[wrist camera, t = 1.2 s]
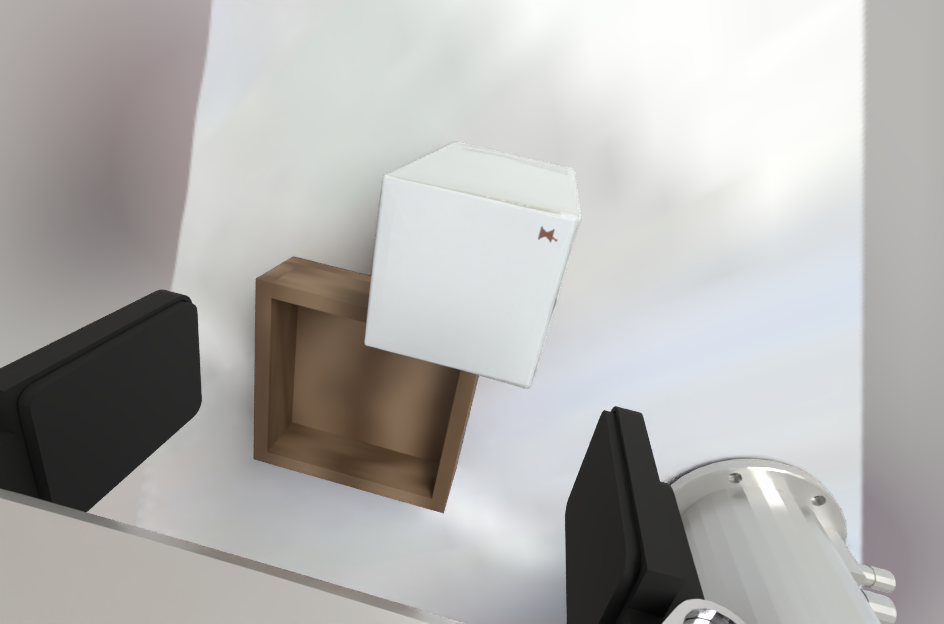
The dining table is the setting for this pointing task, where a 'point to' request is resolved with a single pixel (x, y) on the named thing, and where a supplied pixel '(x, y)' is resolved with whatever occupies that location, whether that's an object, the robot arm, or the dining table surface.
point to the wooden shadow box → (350, 391)
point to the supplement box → (472, 260)
